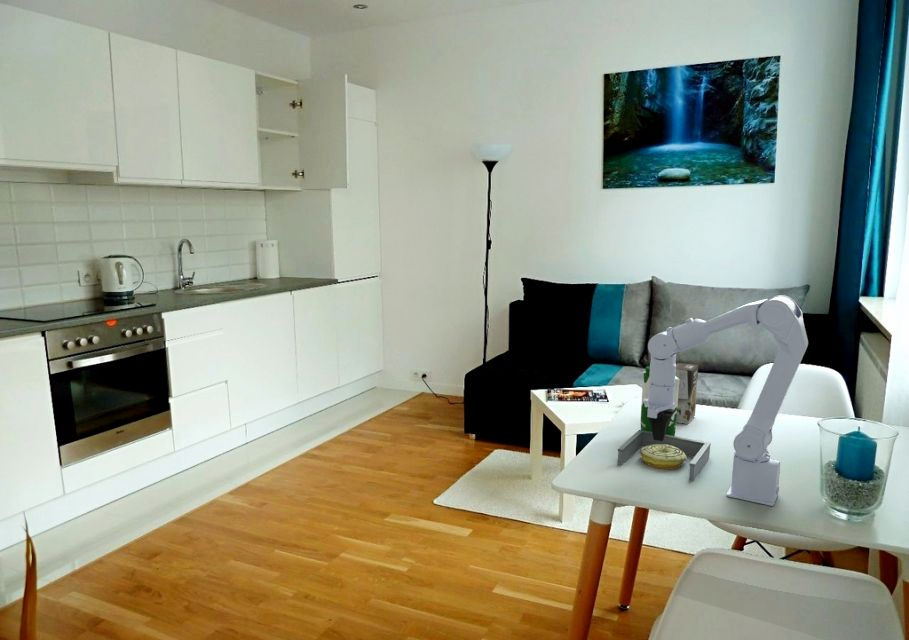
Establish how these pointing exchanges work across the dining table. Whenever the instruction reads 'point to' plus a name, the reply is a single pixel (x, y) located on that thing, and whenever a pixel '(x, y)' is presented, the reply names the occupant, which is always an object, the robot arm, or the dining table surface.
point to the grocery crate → (688, 446)
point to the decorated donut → (663, 456)
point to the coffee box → (686, 391)
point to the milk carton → (645, 392)
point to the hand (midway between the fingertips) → (658, 439)
